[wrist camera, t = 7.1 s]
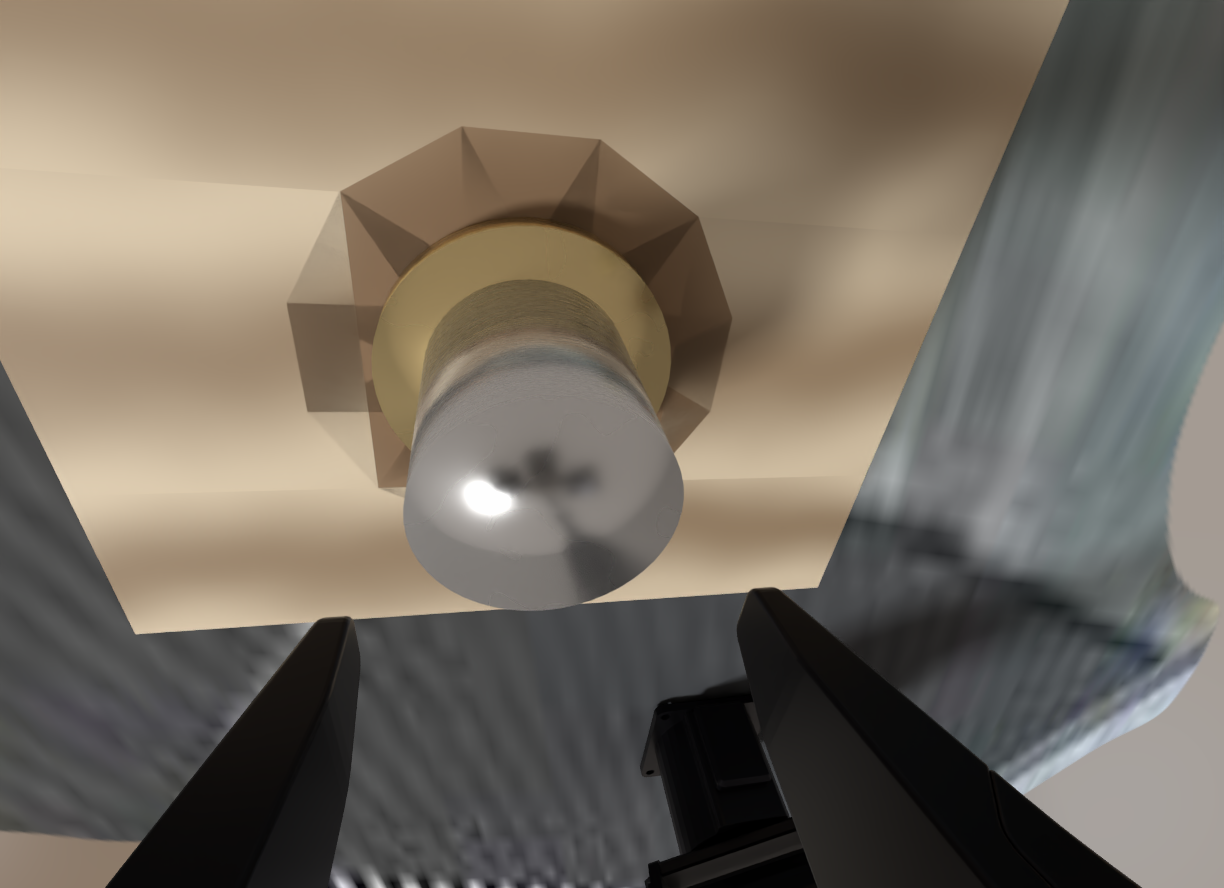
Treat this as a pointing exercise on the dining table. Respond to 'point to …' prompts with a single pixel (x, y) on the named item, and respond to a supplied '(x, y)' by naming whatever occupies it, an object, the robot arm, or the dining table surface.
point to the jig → (443, 203)
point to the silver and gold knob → (529, 413)
